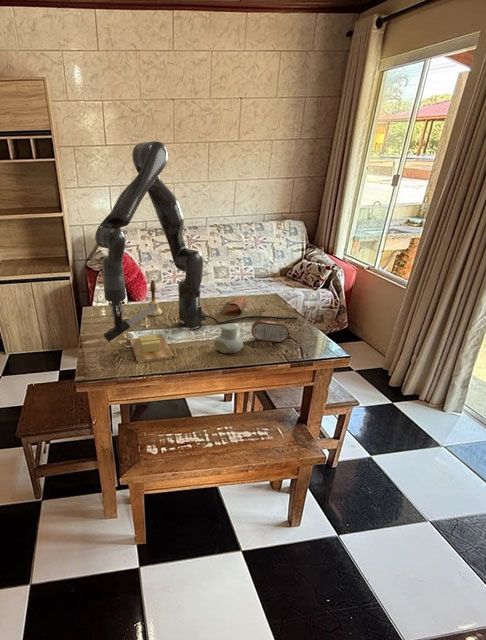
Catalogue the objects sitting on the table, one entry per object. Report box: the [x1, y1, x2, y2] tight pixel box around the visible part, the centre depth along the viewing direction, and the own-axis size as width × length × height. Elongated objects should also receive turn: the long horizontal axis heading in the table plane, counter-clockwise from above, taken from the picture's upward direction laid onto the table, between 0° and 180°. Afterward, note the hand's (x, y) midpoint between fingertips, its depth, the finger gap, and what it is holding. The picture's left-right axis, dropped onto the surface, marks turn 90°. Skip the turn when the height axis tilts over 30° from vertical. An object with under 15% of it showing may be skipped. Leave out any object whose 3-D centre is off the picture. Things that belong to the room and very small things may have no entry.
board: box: [129, 335, 174, 361], centre depth 160 cm, size 14×20×1 cm
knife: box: [103, 304, 157, 343], centre depth 152 cm, size 22×2×3 cm, turn 101°
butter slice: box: [141, 340, 160, 353], centre depth 156 cm, size 7×2×4 cm, turn 102°
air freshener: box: [214, 323, 244, 354], centre depth 155 cm, size 11×8×10 cm
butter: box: [138, 333, 158, 348], centre depth 161 cm, size 7×5×4 cm
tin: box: [251, 319, 291, 343], centre depth 162 cm, size 15×3×8 cm, turn 71°
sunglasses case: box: [223, 295, 246, 316], centre depth 197 cm, size 18×7×7 cm
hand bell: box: [147, 279, 164, 317], centre depth 193 cm, size 8×8×16 cm
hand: (118, 331), depth 152 cm, fingers closed on knife, 2 cm apart
